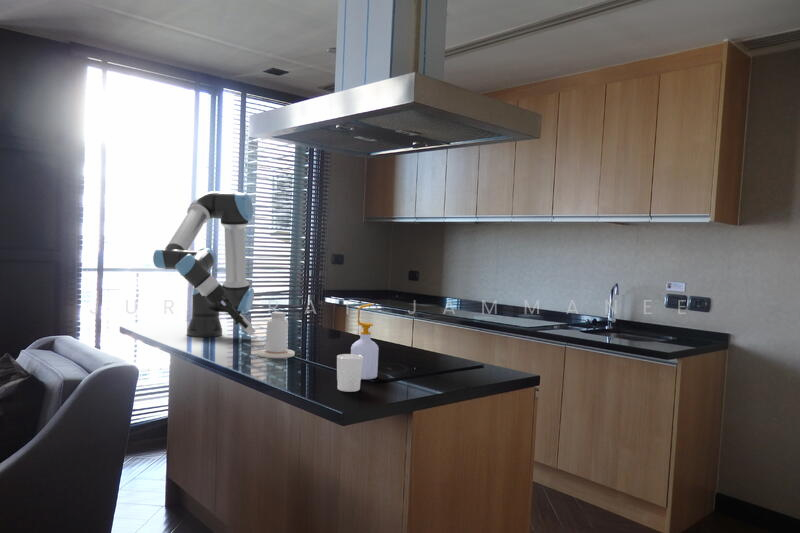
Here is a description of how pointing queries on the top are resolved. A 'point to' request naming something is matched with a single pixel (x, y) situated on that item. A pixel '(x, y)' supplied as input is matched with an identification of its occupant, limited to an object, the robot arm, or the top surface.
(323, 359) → the top surface
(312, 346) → the top surface
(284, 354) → the coaster
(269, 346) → the pill bottle
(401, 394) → the top surface
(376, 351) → the soap bottle
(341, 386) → the white cup
